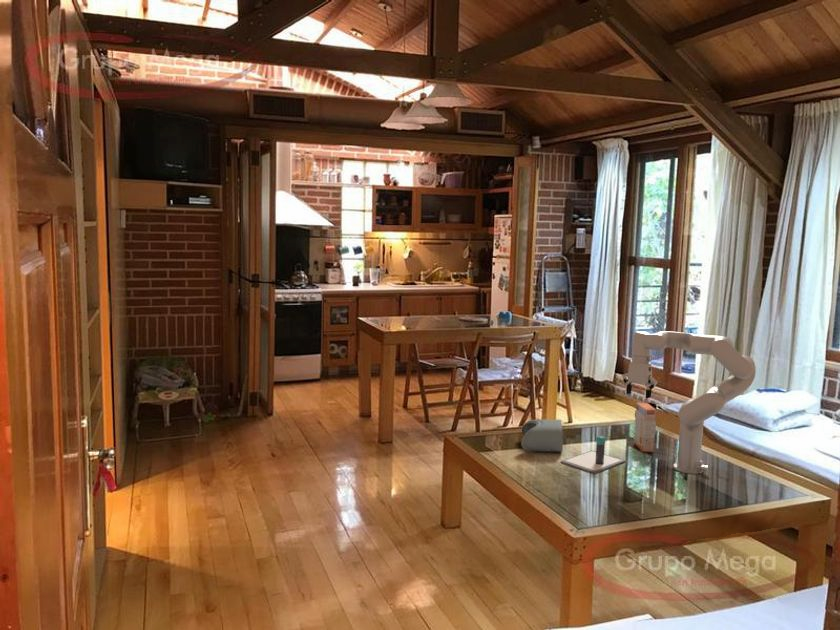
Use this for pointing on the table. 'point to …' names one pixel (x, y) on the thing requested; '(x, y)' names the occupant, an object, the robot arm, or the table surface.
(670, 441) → the table surface
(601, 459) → the marker
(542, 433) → the grey rounded block
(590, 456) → the notepad
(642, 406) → the cracker box
